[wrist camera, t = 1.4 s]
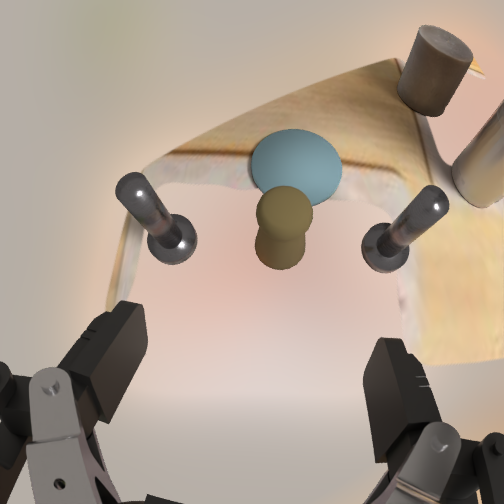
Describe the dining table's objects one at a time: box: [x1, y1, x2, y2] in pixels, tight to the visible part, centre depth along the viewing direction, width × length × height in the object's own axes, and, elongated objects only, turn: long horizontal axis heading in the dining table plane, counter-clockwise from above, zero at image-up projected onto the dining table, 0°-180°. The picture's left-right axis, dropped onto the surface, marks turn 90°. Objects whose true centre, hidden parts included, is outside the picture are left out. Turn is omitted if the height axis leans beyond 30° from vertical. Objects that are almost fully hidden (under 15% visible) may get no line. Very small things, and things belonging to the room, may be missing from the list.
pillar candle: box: [397, 25, 473, 117], centre depth 38 cm, size 10×10×15 cm
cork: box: [255, 186, 313, 270], centre depth 32 cm, size 6×6×11 cm
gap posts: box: [115, 172, 449, 273], centre depth 31 cm, size 32×6×14 cm, turn 87°
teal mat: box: [251, 129, 342, 206], centre depth 40 cm, size 12×12×1 cm
